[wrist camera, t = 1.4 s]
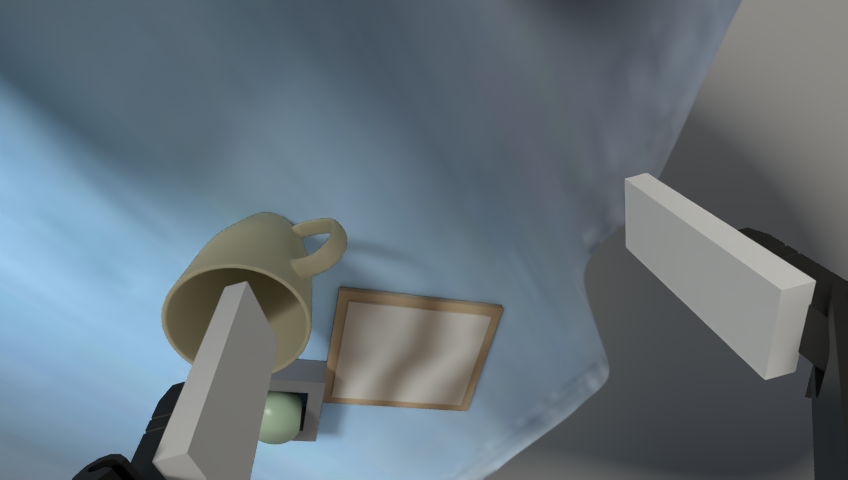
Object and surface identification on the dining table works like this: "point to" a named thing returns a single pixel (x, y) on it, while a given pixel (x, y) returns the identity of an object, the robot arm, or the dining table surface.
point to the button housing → (304, 391)
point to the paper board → (407, 350)
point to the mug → (254, 281)
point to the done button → (280, 417)
